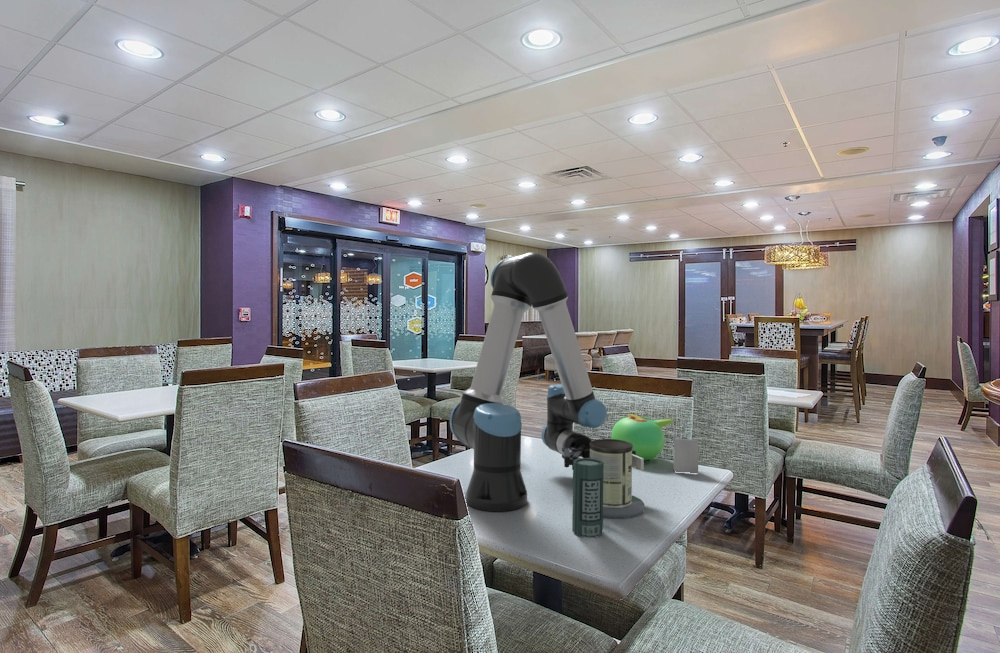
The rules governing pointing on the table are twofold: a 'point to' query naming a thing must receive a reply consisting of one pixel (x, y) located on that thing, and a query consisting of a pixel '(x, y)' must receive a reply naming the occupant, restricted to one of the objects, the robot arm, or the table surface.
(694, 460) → the grey box
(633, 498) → the stoneware plate
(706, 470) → the table surface
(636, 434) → the toy bird
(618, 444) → the coffee can
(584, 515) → the can
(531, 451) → the table surface
